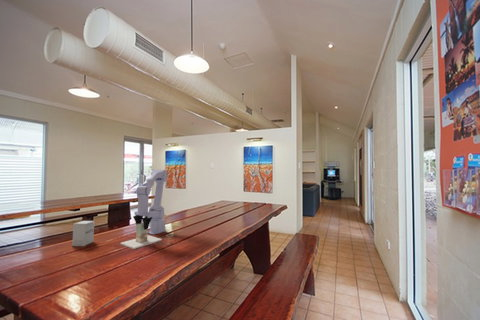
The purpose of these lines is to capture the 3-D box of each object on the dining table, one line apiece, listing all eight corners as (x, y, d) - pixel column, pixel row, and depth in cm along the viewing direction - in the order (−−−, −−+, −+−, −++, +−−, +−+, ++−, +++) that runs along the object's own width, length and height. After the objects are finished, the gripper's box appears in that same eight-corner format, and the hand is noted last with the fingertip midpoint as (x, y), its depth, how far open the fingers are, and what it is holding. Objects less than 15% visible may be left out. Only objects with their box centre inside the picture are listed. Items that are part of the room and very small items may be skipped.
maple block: (142, 239, 129) (143, 230, 129) (147, 240, 126) (147, 232, 127) (135, 241, 125) (136, 232, 125) (140, 242, 123) (140, 233, 123)
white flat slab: (148, 236, 137) (148, 235, 137) (161, 240, 130) (162, 239, 130) (120, 244, 122) (120, 242, 122) (133, 249, 114) (133, 247, 115)
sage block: (143, 230, 129) (143, 222, 129) (147, 232, 127) (147, 223, 127) (136, 232, 125) (136, 224, 126) (140, 233, 123) (140, 225, 123)
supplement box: (84, 246, 118) (85, 223, 119) (71, 246, 118) (72, 223, 119) (93, 242, 125) (94, 220, 126) (81, 241, 126) (82, 220, 126)
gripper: (130, 205, 128) (129, 227, 127) (143, 207, 120) (143, 231, 119) (140, 203, 134) (140, 225, 133) (154, 206, 126) (154, 229, 125)
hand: (142, 228), depth 126 cm, fingers open, 7 cm apart
